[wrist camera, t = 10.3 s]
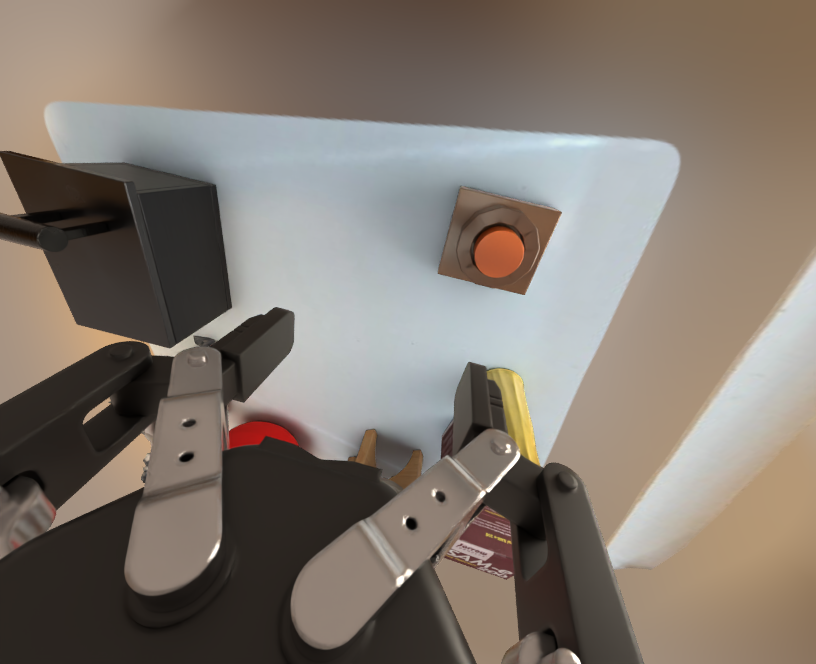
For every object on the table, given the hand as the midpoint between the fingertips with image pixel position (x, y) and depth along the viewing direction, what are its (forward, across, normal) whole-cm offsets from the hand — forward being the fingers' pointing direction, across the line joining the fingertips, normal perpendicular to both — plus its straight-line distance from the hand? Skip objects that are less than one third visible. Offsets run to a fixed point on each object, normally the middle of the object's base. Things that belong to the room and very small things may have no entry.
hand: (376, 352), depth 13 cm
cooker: (+20, +28, +7) cm, 35 cm away
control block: (+20, -6, -2) cm, 21 cm away
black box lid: (+11, +27, +7) cm, 30 cm away
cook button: (+17, -6, -2) cm, 18 cm away
